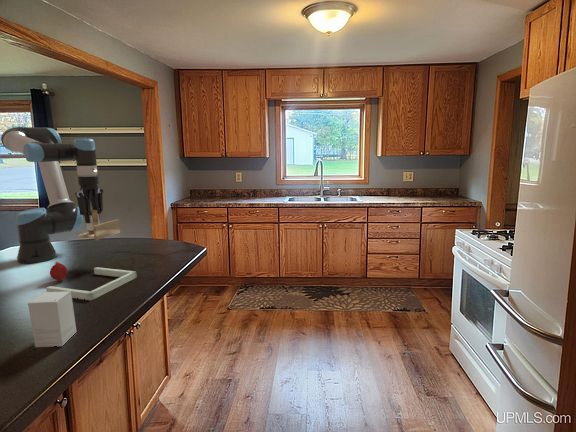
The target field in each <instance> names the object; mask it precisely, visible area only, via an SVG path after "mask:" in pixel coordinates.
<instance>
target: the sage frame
mask: <svg viewBox="0 0 576 432" xmlns="http://www.w3.org/2000/svg"><path fill="white" fill-rule="evenodd" d="M93 273H94V275H98V276H105V277H106V276H107V277H117V278H115V279H114V280H111V281H109V282H107V283H105V284H103V285H101V286H98V287H97V288H95V289H93V290H90V291H89V290H83V289H82V290H81V289H74V288H67V287H66V288H65V287H57V286H52V285H50V286H47V287H46V292H67V291H71V296H72V299H77V298H78V300H84V299H85V301H93V300H95V299H97V298H99V297H101V296H103V295H105V294H107V293H109V292H112V291H113V290H115V289H118V288H119V287H121V286H122V285H125V284H127V283H128V282H131V281H133V280H135V279H137V277H138V275H137V271H134V270H125V269H116V268H115V269H114V268H105V267H98V266H97V267H94V268H93Z"/></svg>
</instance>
